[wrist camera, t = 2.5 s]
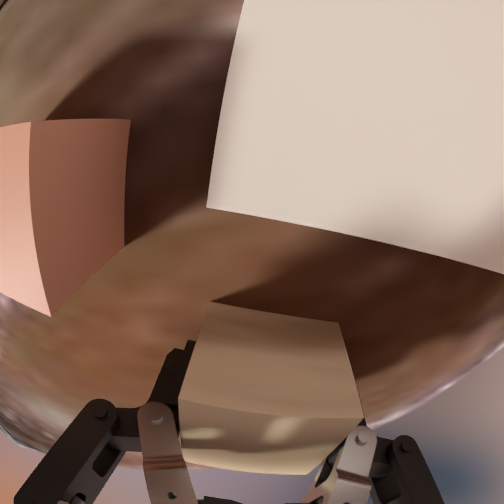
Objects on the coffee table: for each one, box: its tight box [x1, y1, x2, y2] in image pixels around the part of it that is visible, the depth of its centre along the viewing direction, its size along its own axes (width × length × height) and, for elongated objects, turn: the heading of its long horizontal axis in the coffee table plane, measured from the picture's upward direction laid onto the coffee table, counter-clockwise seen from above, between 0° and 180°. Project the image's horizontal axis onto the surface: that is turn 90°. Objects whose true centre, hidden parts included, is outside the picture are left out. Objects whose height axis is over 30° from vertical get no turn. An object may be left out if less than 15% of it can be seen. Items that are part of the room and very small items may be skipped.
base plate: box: [207, 0, 504, 274], centre depth 5 cm, size 16×16×1 cm
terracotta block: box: [0, 119, 131, 317], centre depth 7 cm, size 5×5×5 cm
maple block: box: [178, 302, 364, 475], centre depth 10 cm, size 6×6×5 cm
